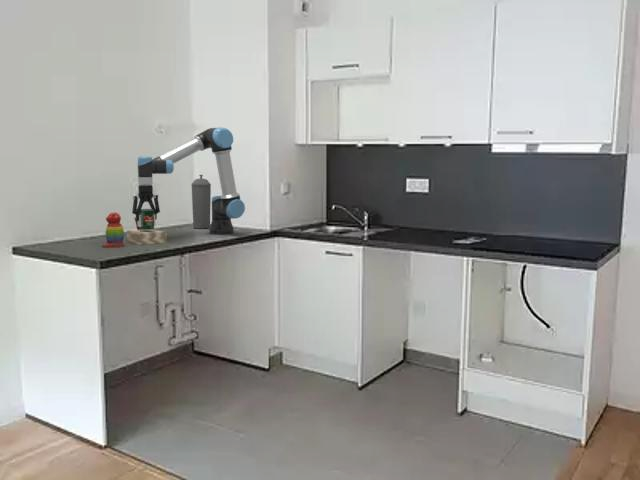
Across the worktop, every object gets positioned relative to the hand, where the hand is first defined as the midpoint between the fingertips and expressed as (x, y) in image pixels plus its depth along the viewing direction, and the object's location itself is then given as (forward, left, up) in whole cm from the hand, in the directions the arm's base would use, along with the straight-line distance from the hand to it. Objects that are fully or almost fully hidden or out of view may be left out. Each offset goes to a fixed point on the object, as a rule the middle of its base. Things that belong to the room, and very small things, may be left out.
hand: (146, 226), depth 342 cm
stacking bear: (+20, +4, -9) cm, 22 cm away
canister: (-56, -38, -9) cm, 68 cm away
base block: (0, 0, -9) cm, 9 cm away
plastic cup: (-7, -19, -9) cm, 22 cm away
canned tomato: (0, 0, -2) cm, 2 cm away
